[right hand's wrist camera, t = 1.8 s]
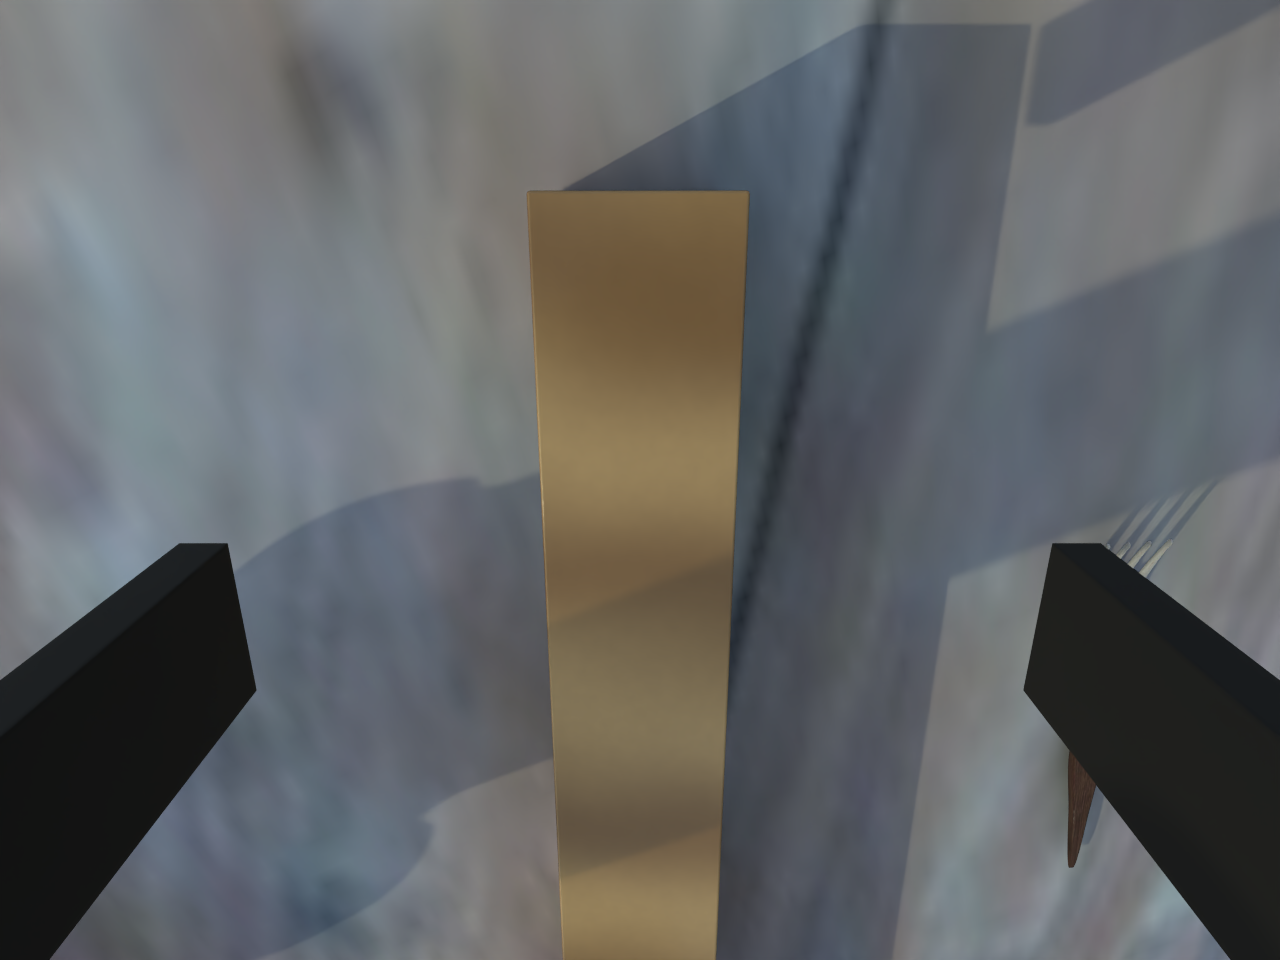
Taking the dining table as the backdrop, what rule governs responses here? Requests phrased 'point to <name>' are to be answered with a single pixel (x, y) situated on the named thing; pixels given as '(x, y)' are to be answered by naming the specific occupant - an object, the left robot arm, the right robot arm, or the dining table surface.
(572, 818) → the post
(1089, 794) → the fork
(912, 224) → the dining table surface
